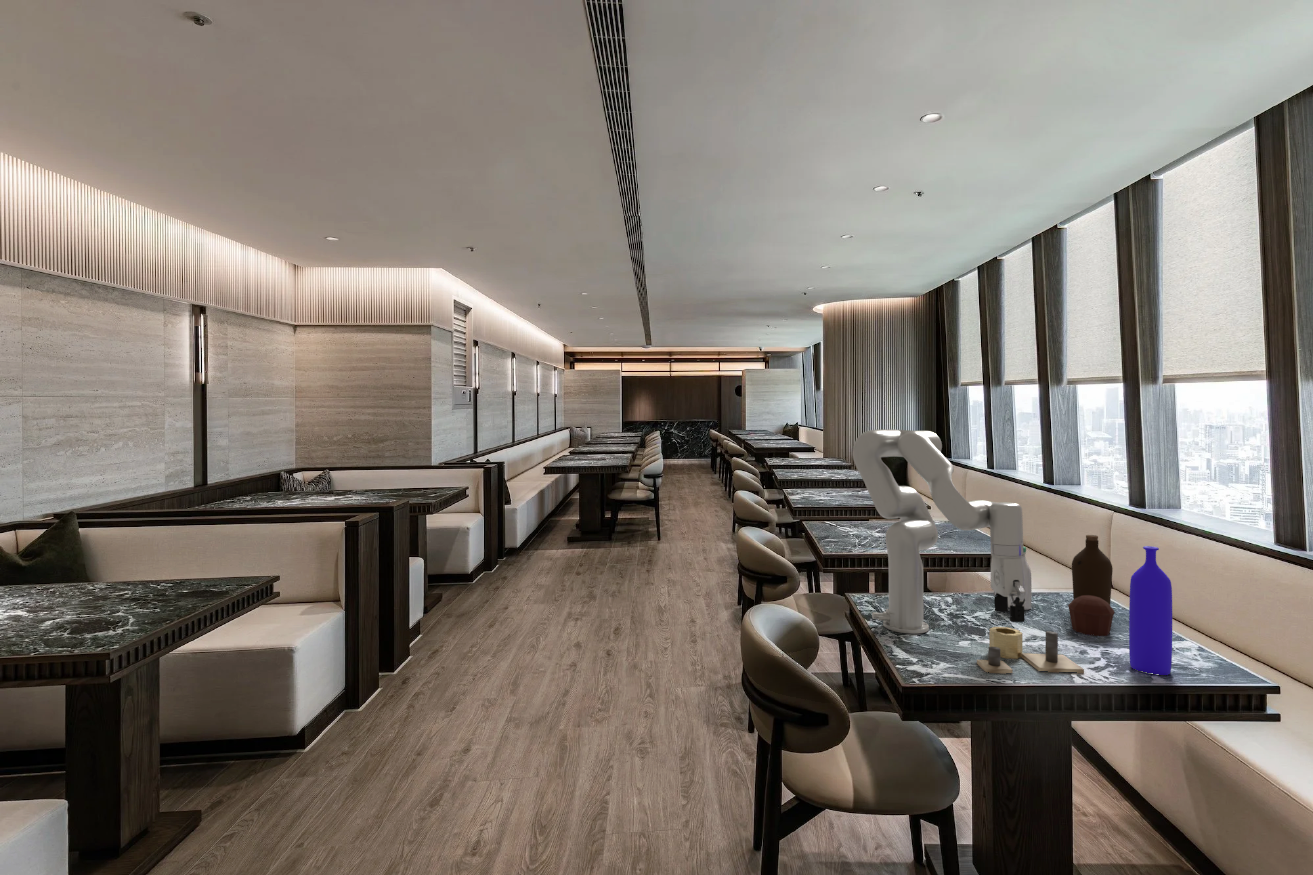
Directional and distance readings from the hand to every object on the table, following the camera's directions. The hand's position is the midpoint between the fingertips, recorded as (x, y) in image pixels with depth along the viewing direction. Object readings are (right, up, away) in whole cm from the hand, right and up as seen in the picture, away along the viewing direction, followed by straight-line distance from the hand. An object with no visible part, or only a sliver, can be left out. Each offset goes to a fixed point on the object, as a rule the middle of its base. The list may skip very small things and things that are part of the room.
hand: (1009, 616), depth 167 cm
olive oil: (+45, -9, +35) cm, 57 cm away
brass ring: (0, -10, +1) cm, 10 cm away
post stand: (+7, -10, -7) cm, 14 cm away
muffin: (+34, -10, +19) cm, 40 cm away
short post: (-9, -10, -9) cm, 16 cm away
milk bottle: (+27, -9, +44) cm, 52 cm away
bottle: (+28, -10, -11) cm, 32 cm away
